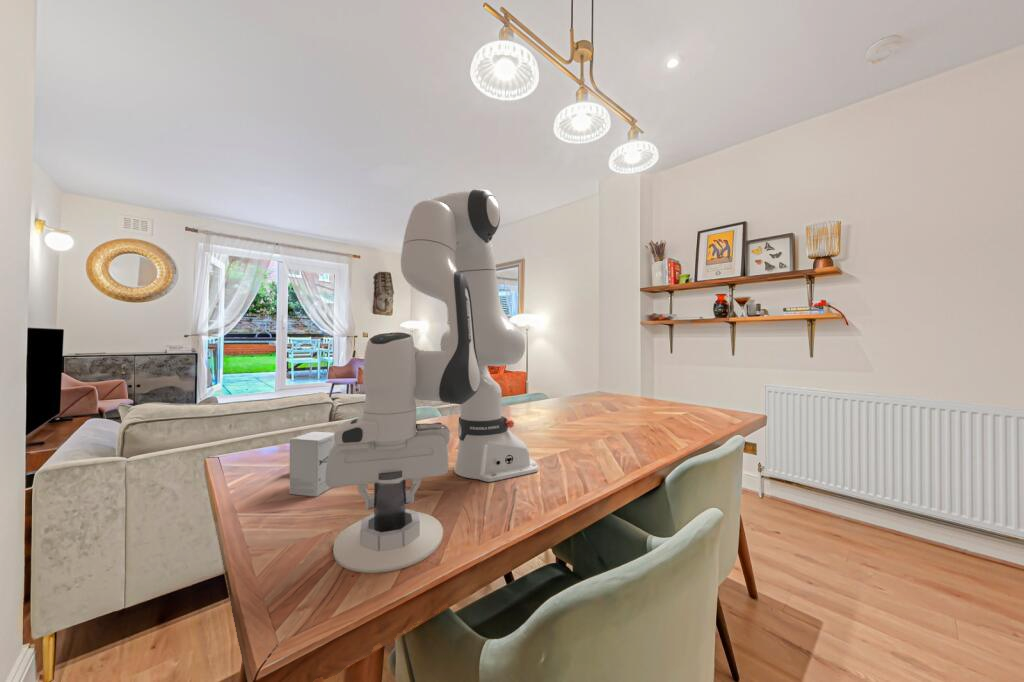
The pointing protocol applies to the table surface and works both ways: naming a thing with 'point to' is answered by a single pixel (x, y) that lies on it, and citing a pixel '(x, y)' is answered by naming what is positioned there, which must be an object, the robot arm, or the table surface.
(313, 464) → the supplement box
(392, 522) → the lens
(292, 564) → the table surface
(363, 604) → the table surface
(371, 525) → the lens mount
